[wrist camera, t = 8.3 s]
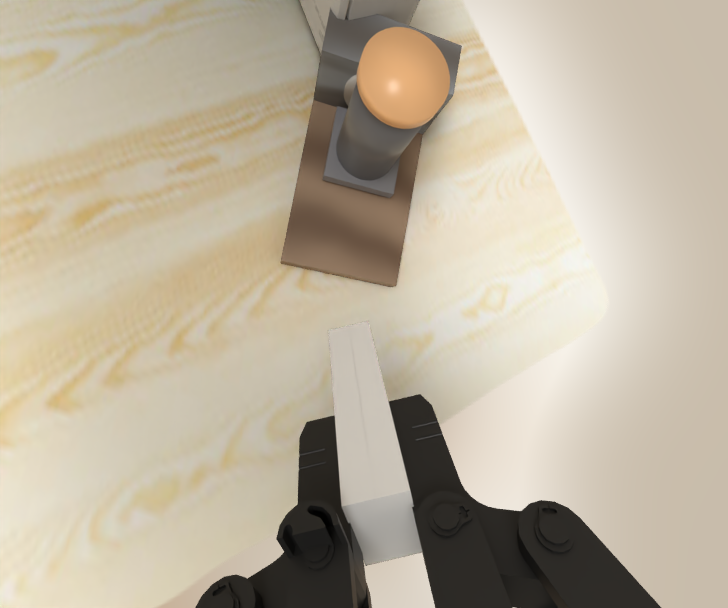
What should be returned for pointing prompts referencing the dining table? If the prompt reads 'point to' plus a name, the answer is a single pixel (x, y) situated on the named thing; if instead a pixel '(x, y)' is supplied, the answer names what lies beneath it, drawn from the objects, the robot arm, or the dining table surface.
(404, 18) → the stereo radio cassette player
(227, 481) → the dining table surface
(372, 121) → the knob
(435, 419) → the robot arm
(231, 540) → the dining table surface
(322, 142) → the knob mount
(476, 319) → the dining table surface
